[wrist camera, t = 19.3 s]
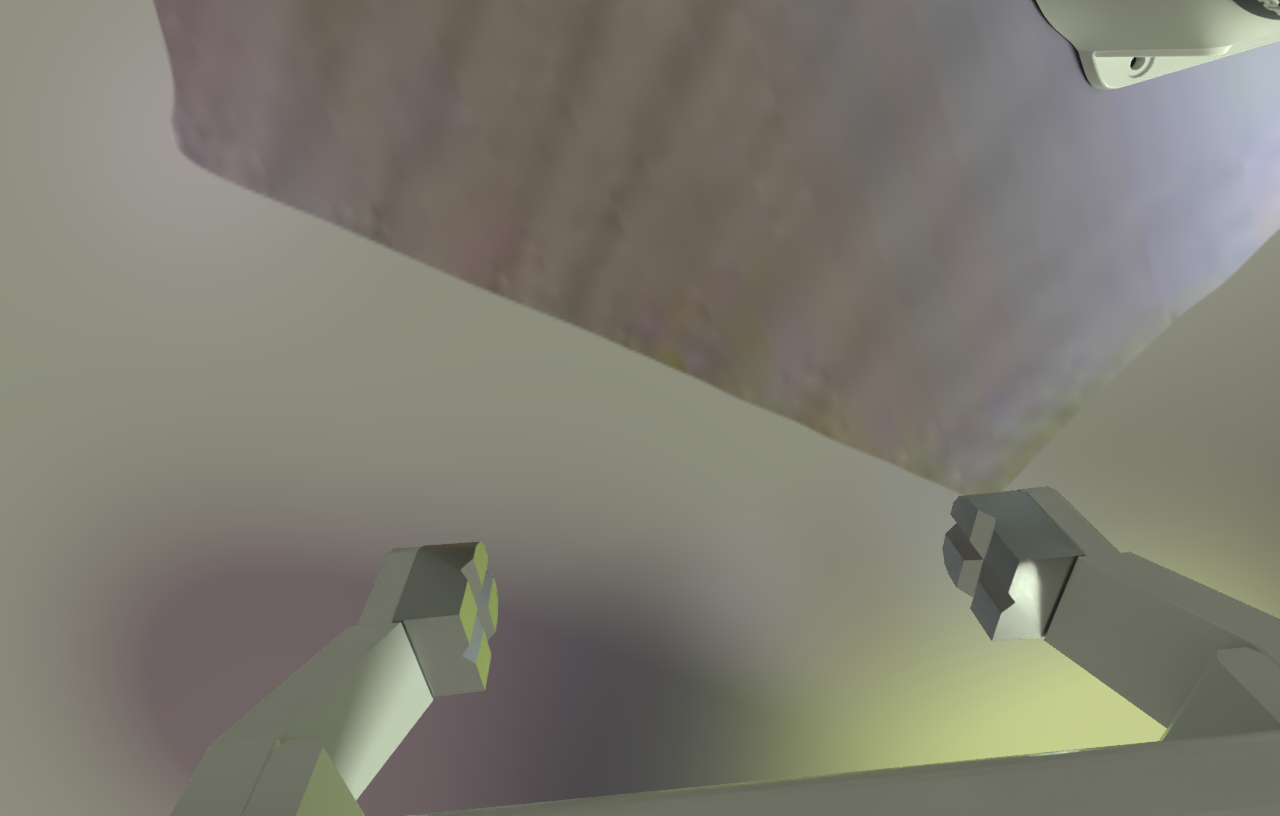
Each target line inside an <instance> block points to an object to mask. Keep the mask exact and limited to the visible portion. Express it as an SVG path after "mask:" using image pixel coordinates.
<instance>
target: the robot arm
mask: <svg viewBox="0 0 1280 816" xmlns="http://www.w3.org/2000/svg"><path fill="white" fill-rule="evenodd" d="M1036 1H1037V3H1038V5H1039V7H1040V9H1041V11H1042V13H1043V14H1044V16H1045V17H1046V19H1047V20H1048V21H1049V23H1050V24H1051V25H1052V26H1053V27H1054V28H1055V29H1056V30H1057V31H1058V32H1059V33H1061V34H1062V35H1063V36H1064V37H1065V38H1066V39H1068V40H1069V41H1070V42H1071V43H1072V44H1073V45H1074V46H1075V48H1076V49H1077V50H1078V52H1079V56H1080V59H1081V62H1082V65H1083V69H1084V72H1085V74H1086V77H1087V79H1088V81H1089V83H1090V84H1091V85H1092V86H1093V87H1094V88H1096V89H1099V90H1108V89H1117V88H1121V87H1125V86H1128V85H1131V84H1135V83H1138V82H1142V81H1145V80H1148V79H1152V78H1155V77H1158V76H1162V75H1165V74H1169V73H1172V72H1175V71H1179V70H1182V69H1186V68H1189V67H1192V66H1196V65H1199V64H1203V63H1206V62H1209V61H1213V60H1216V59H1220V58H1223V57H1226V56H1230V55H1233V54H1237V53H1240V52H1243V51H1247V50H1250V49H1254V48H1257V47H1260V46H1264V45H1267V44H1271V43H1274V42H1277V41H1280V0H1036ZM1134 57H1136V62H1135V64H1134V66H1133V67H1132V68H1131V67H1130V64H1131V61H1132V59H1133V58H1134ZM951 516H952V517H953V518H954V520H955V521H956V522H957V523H956V524H955V525H954V526H953V527H952V528H951V529H950V530H949V531H948V532H947V533H946V534H945V539H944V544H943V555H944V563H945V566H946V568H947V571H948V574H949V576H950V577H951V579H952V581H953V582H954V584H955V586H956V587H957V588H959V589H960V590H962V591H963V592H965V593H967V594H968V595H970V596H972V603H971V607H970V609H971V610H972V612H973V613H974V615H975V616H976V618H977V619H978V621H979V622H980V624H981V625H982V627H983V629H984V630H985V632H986V633H987V635H988V636H989V638H990V639H991V641H1001V640H1016V639H1031V638H1045V639H1044V641H1046V642H1047V643H1049V644H1050V645H1051V646H1053V647H1054V648H1056V649H1057V650H1058V651H1060V652H1061V653H1063V654H1064V655H1065V656H1067V657H1068V658H1069V659H1071V660H1072V661H1074V662H1075V663H1076V664H1078V665H1080V666H1081V667H1082V668H1084V669H1085V670H1086V671H1088V672H1089V673H1091V674H1092V675H1093V676H1095V677H1096V678H1097V679H1099V680H1100V681H1102V682H1103V683H1104V684H1106V685H1107V686H1109V687H1110V688H1111V689H1113V690H1114V691H1116V692H1117V693H1118V694H1120V695H1121V696H1123V697H1124V698H1126V699H1127V700H1128V701H1129V702H1131V703H1132V704H1134V705H1135V706H1137V707H1138V708H1139V709H1141V710H1142V711H1143V712H1145V713H1146V714H1148V715H1149V716H1151V717H1152V718H1153V719H1155V720H1156V721H1157V722H1159V723H1160V724H1162V725H1163V726H1165V727H1166V728H1167V729H1166V731H1165V733H1164V735H1163V736H1162V737H1161V739H1160V740H1159V741H1157V742H1147V743H1137V744H1127V745H1117V746H1107V747H1096V748H1086V749H1076V750H1066V751H1056V752H1046V753H1036V754H1026V755H1016V756H1006V757H996V758H986V759H976V760H966V761H956V762H945V763H936V764H926V765H916V766H906V767H895V768H886V769H875V770H866V771H855V772H845V773H836V774H826V775H816V776H805V777H796V778H784V779H775V780H765V781H754V782H744V783H734V784H724V785H714V786H704V787H693V788H683V789H673V790H664V791H653V792H643V793H632V794H622V795H612V796H602V797H592V798H583V799H573V800H562V801H552V802H542V803H532V804H521V805H511V806H501V807H491V808H481V809H470V810H460V811H450V812H440V813H430V814H421V815H410V816H1280V619H1279V618H1276V617H1274V616H1272V615H1270V614H1267V613H1265V612H1263V611H1261V610H1258V609H1256V608H1254V607H1252V606H1250V605H1247V604H1245V603H1243V602H1241V601H1238V600H1236V599H1234V598H1232V597H1229V596H1227V595H1225V594H1223V593H1221V592H1218V591H1216V590H1214V589H1212V588H1209V587H1207V586H1205V585H1203V584H1200V583H1198V582H1196V581H1194V580H1191V579H1189V578H1187V577H1185V576H1183V575H1180V574H1178V573H1176V572H1174V571H1171V570H1169V569H1167V568H1165V567H1162V566H1160V565H1158V564H1156V563H1153V562H1151V561H1149V560H1146V559H1145V558H1142V557H1140V556H1138V555H1135V554H1133V553H1131V552H1126V553H1120V552H1119V551H1118V550H1117V549H1116V548H1115V547H1114V546H1113V545H1112V544H1111V543H1110V542H1109V541H1108V540H1107V539H1106V538H1105V537H1104V536H1103V535H1102V534H1101V533H1100V532H1099V531H1098V530H1097V529H1096V528H1095V527H1094V526H1093V525H1092V524H1091V523H1090V522H1089V521H1087V519H1086V518H1085V517H1084V516H1082V515H1081V514H1080V513H1079V512H1078V511H1077V510H1076V509H1075V508H1074V507H1073V506H1072V505H1071V504H1070V503H1069V502H1068V501H1067V500H1066V499H1065V498H1064V497H1063V496H1062V495H1061V494H1060V493H1059V492H1058V491H1057V490H1055V489H1053V488H1050V487H1048V486H1047V487H1038V488H1028V489H1020V490H1017V491H1004V492H994V493H984V494H975V495H965V496H958V498H957V499H956V500H955V501H954V503H953V506H952V510H951ZM487 562H488V556H487V553H486V550H485V546H484V544H483V543H481V542H470V543H456V544H442V545H428V546H422V547H408V548H394V549H392V550H391V551H390V552H389V553H388V554H387V556H386V558H385V560H384V563H383V565H382V567H381V570H380V572H379V575H378V577H377V579H376V582H375V584H374V586H373V589H372V591H371V594H370V596H369V598H368V601H367V603H366V605H365V608H364V610H363V613H362V615H361V617H360V620H359V622H358V625H357V626H355V627H348V628H346V629H345V630H344V631H343V632H342V633H340V634H339V635H338V636H337V637H336V638H335V639H333V640H332V641H331V642H330V643H329V644H328V645H326V646H325V647H324V648H323V649H322V650H320V651H319V652H318V653H317V654H316V655H315V656H313V657H312V658H311V659H310V660H309V661H308V662H306V663H305V664H304V665H303V666H302V667H301V668H300V669H298V670H297V671H296V672H295V673H294V674H292V675H291V676H290V677H289V678H288V679H287V680H286V681H284V682H283V683H282V684H281V685H280V686H278V687H277V688H276V689H275V690H274V691H272V692H271V693H270V694H269V695H268V696H267V697H266V698H264V699H263V700H262V701H261V702H260V703H258V705H256V706H255V707H254V708H253V709H251V710H250V711H249V712H248V713H247V714H246V715H244V716H243V717H242V718H241V719H240V720H239V721H237V722H236V723H235V724H234V725H233V726H231V727H230V728H229V729H228V730H227V731H226V732H224V733H223V734H222V735H221V736H220V737H219V738H217V739H216V740H215V741H214V742H213V743H212V744H210V745H209V747H208V749H207V751H206V752H205V754H204V756H203V758H202V760H201V762H200V763H199V765H198V767H197V769H196V771H195V772H194V774H193V776H192V778H191V779H190V781H189V783H188V785H187V787H186V788H185V790H184V792H183V794H182V795H181V797H180V799H179V801H178V803H177V804H176V806H175V808H174V810H173V812H172V813H171V815H170V816H365V815H364V813H363V812H362V810H361V808H360V807H359V805H358V803H357V802H356V800H357V799H358V797H359V796H360V795H361V793H362V792H363V791H364V790H365V788H366V787H367V786H368V784H369V783H370V782H371V780H372V779H373V778H374V776H375V775H376V774H377V773H378V771H379V770H380V769H381V767H382V766H383V765H384V763H385V762H386V761H387V759H388V758H389V757H390V756H391V754H392V753H393V752H394V750H395V749H396V748H397V747H398V745H399V744H400V743H401V741H402V740H403V738H404V737H405V736H406V735H407V733H408V732H409V731H410V730H411V728H412V727H413V726H414V724H415V723H416V722H417V720H418V719H419V718H420V717H421V715H422V714H423V713H424V711H425V710H426V709H427V707H428V706H429V705H430V704H431V702H432V701H433V698H432V697H436V696H444V695H453V694H461V693H469V692H477V691H484V690H485V687H486V682H487V676H488V671H489V665H490V659H491V652H490V649H489V646H488V642H487V641H488V639H489V638H490V637H491V636H492V635H493V634H494V633H495V632H496V625H497V619H498V597H497V588H496V584H495V580H494V577H493V576H492V575H490V574H489V573H488V572H486V567H487Z"/></svg>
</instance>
